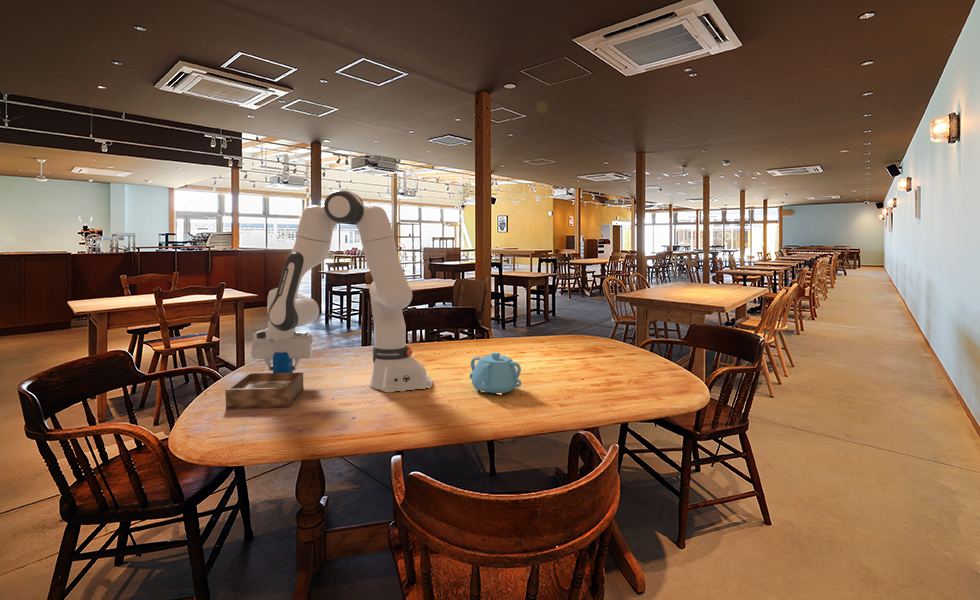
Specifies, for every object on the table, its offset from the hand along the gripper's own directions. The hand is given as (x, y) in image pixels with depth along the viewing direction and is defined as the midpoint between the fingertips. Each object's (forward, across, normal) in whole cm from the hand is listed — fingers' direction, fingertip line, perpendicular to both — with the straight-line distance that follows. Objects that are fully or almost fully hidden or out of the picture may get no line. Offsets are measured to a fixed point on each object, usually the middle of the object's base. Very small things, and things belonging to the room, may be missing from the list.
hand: (282, 370), depth 166 cm
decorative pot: (+5, -75, +14) cm, 76 cm away
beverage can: (+5, 0, 0) cm, 5 cm away
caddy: (+5, 0, +17) cm, 18 cm away
